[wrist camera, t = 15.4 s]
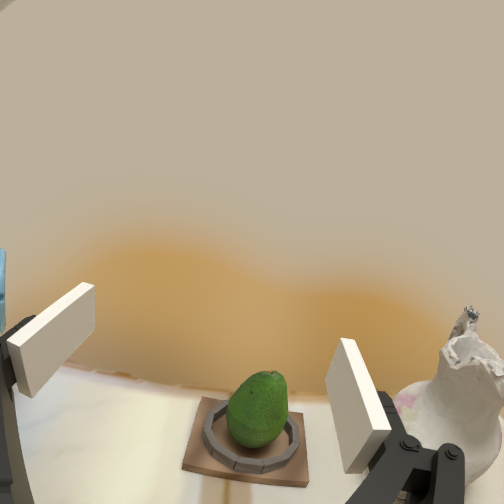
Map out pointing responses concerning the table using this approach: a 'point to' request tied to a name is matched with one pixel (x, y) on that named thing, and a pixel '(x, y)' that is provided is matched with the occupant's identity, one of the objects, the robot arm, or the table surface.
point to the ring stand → (246, 450)
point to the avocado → (258, 409)
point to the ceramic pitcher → (459, 400)
